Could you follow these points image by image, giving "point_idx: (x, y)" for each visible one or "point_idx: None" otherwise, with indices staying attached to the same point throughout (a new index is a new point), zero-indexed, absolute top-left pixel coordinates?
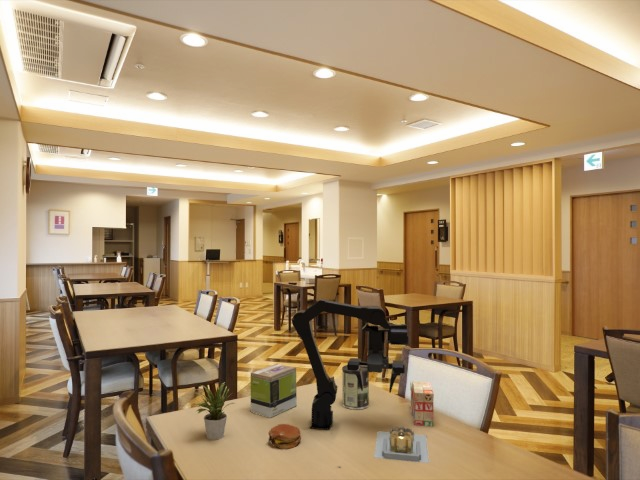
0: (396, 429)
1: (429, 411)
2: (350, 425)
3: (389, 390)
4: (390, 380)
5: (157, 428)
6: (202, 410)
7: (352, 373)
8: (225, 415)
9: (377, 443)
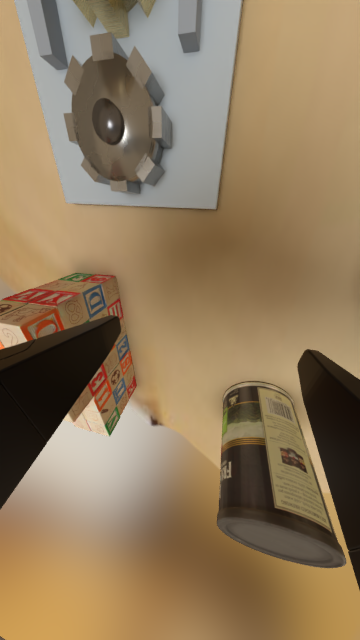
0: (134, 148)
1: (40, 289)
2: (305, 282)
3: (109, 320)
4: (60, 383)
5: None
6: None
7: (301, 520)
8: None
9: (230, 25)
